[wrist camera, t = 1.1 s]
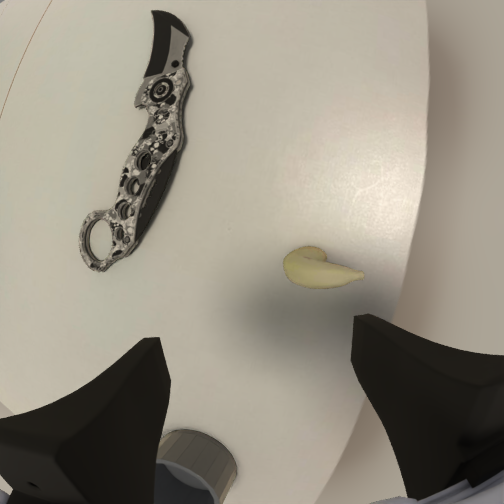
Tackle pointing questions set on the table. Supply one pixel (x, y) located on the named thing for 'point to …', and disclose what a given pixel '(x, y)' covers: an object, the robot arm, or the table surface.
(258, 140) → the table surface
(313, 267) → the fruit
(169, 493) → the holder
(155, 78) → the knife
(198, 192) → the table surface
